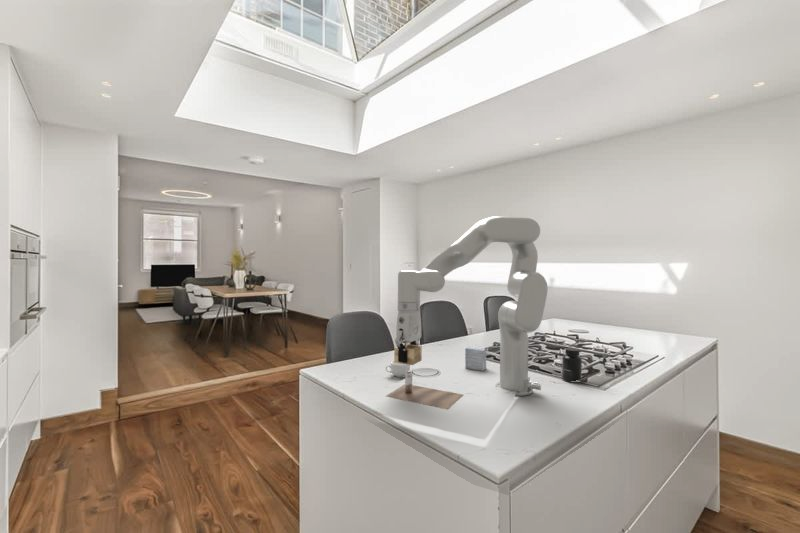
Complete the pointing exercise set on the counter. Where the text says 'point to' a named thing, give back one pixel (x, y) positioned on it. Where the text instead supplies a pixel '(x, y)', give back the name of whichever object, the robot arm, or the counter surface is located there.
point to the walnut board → (427, 396)
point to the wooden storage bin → (410, 354)
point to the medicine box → (475, 358)
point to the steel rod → (408, 382)
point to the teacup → (398, 369)
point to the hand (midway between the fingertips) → (408, 359)
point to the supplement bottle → (571, 365)
